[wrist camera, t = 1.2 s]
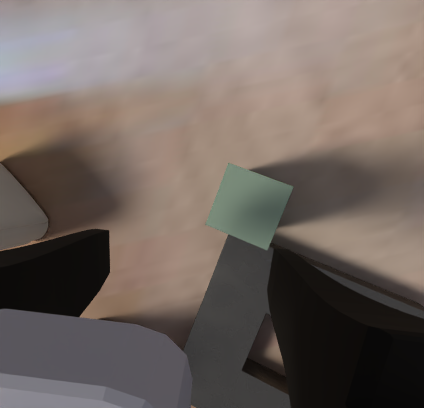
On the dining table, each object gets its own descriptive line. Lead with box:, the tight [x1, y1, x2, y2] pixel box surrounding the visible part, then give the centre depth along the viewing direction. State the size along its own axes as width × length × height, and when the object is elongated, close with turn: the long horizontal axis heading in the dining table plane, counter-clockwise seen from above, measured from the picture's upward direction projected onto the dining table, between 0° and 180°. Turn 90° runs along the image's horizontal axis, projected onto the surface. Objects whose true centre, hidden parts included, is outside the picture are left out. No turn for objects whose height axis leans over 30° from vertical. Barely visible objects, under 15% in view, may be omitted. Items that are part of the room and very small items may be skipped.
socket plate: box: [183, 234, 424, 408], centre depth 23 cm, size 16×16×2 cm
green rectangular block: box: [206, 163, 293, 250], centre depth 20 cm, size 4×4×8 cm
